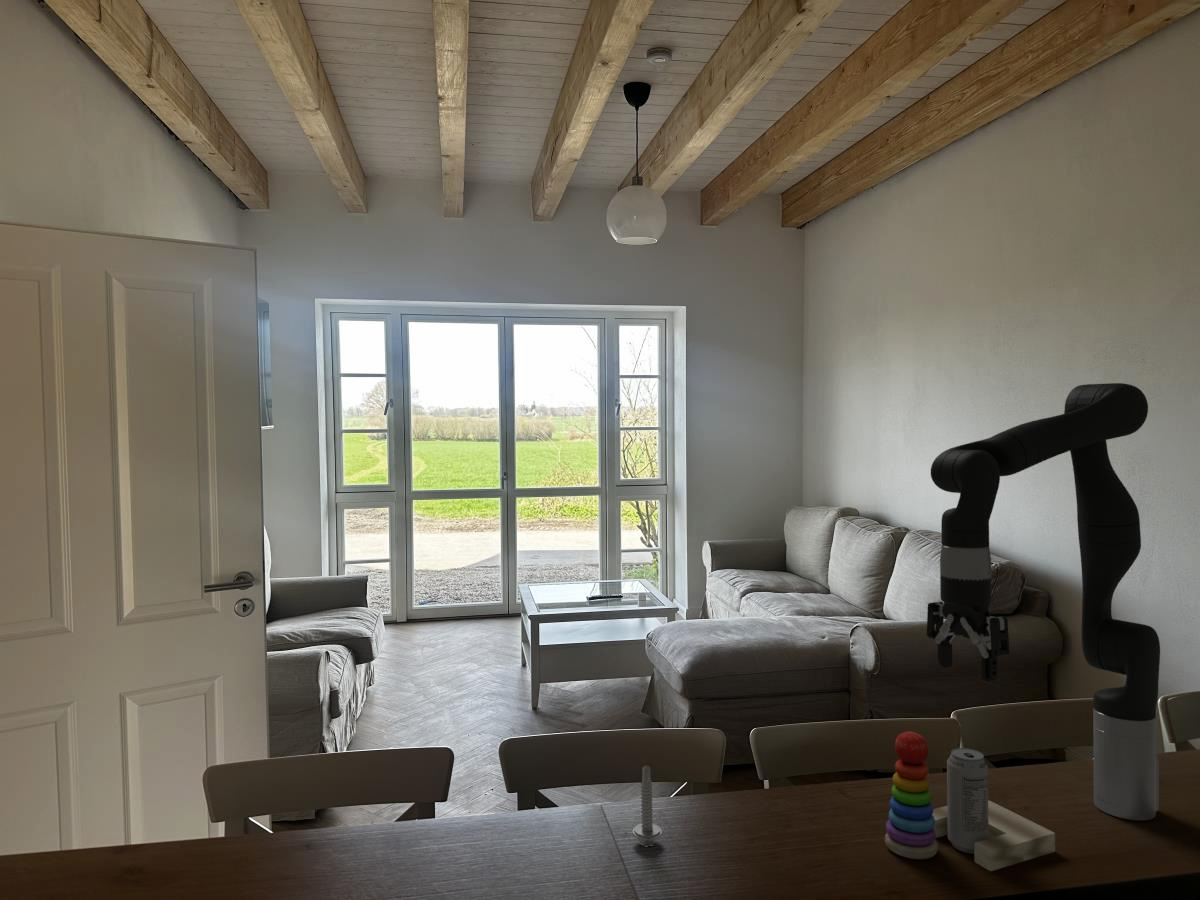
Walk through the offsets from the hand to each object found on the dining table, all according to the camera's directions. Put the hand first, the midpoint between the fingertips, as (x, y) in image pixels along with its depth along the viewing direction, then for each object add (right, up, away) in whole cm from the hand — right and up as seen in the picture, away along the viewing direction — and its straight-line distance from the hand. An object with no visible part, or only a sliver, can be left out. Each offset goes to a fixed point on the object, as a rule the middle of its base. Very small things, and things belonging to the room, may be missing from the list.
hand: (966, 673), depth 128 cm
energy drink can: (0, -28, 0) cm, 28 cm away
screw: (-51, -29, +2) cm, 59 cm away
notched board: (+4, -28, +2) cm, 28 cm away
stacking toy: (-9, -28, 0) cm, 30 cm away
